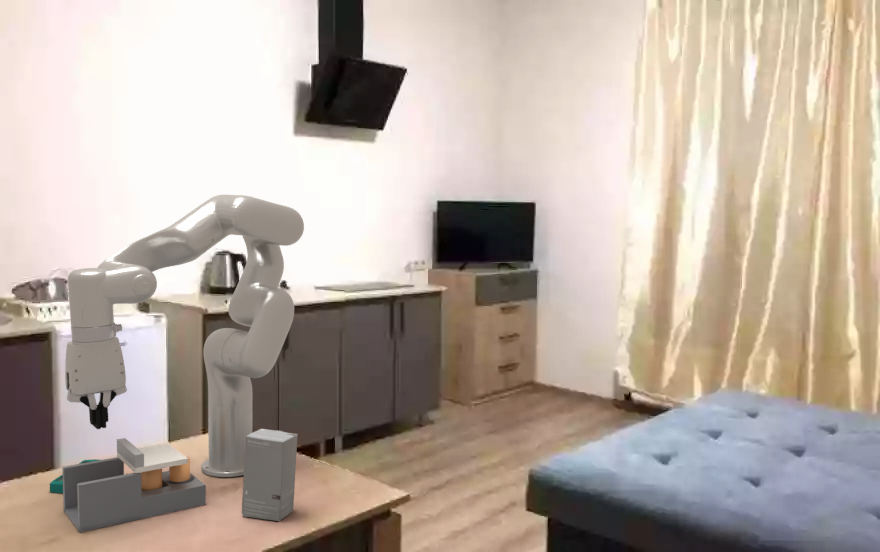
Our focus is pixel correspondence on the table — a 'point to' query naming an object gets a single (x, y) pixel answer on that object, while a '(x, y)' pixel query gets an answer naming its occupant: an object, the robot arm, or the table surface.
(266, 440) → the skincare box
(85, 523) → the housing
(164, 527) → the table surface
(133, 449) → the lid
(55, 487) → the digital multimeter
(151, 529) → the table surface
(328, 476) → the table surface
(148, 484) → the peg
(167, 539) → the table surface
